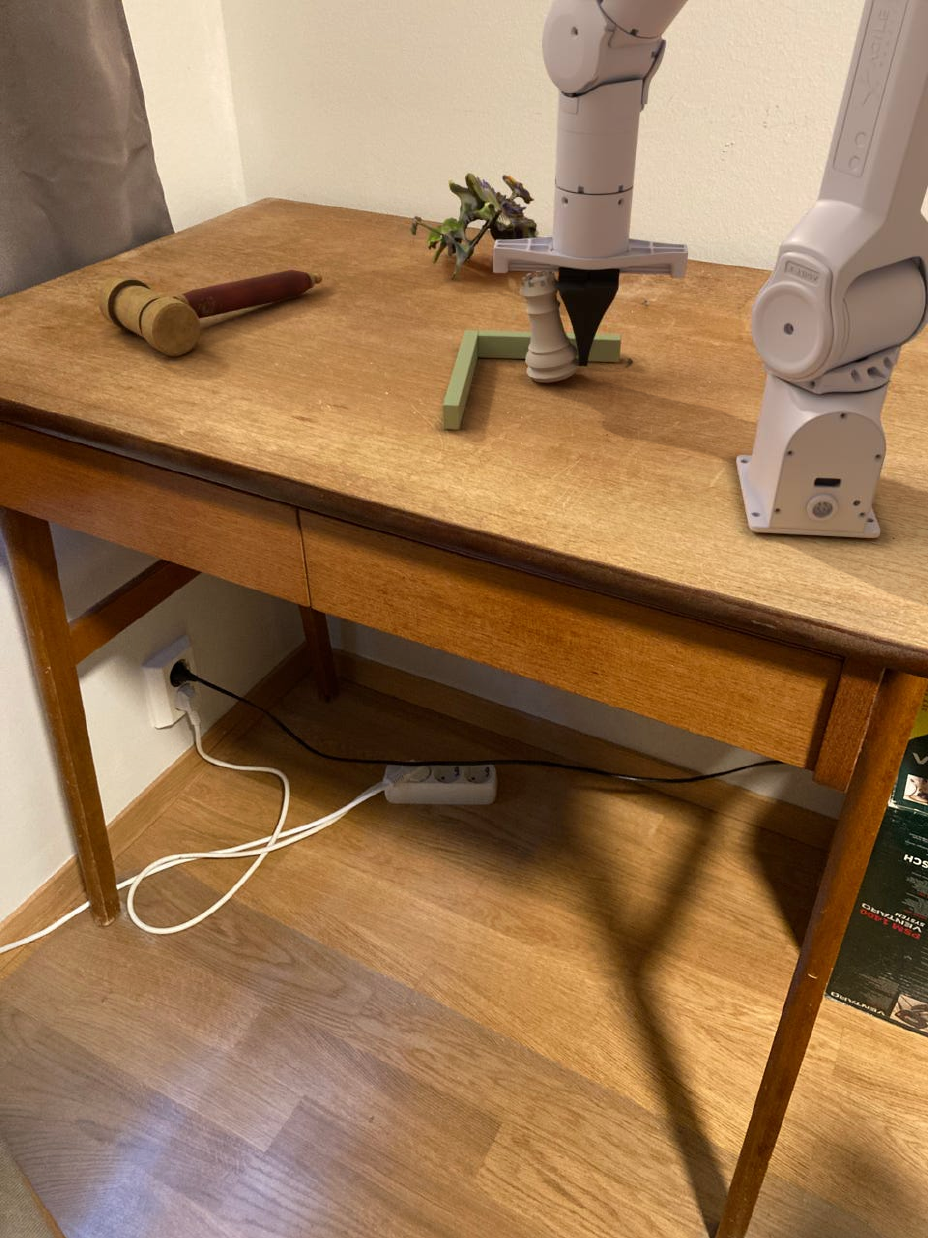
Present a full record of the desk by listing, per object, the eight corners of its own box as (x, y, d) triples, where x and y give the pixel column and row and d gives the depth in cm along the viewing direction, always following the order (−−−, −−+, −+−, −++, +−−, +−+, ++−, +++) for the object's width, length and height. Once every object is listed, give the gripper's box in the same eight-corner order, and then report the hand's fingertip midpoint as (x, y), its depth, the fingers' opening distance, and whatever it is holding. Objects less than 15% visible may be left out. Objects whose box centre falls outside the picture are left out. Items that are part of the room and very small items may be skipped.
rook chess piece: (517, 374, 83) (499, 279, 78) (563, 356, 84) (548, 261, 80) (544, 389, 80) (527, 290, 75) (591, 369, 81) (577, 271, 76)
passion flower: (512, 316, 107) (576, 234, 98) (436, 323, 100) (497, 236, 91) (463, 233, 110) (521, 146, 100) (385, 235, 103) (439, 142, 94)
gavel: (290, 242, 100) (351, 265, 94) (293, 288, 103) (352, 313, 97) (93, 278, 88) (149, 308, 82) (102, 329, 91) (156, 361, 85)
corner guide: (620, 436, 74) (622, 412, 73) (443, 429, 75) (442, 404, 74) (619, 356, 85) (621, 334, 84) (465, 351, 87) (465, 329, 85)
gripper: (692, 171, 75) (671, 344, 83) (499, 168, 77) (498, 338, 85) (698, 198, 70) (675, 380, 78) (490, 193, 71) (490, 373, 79)
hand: (582, 361), depth 81 cm, fingers closed, pressing on rook chess piece
